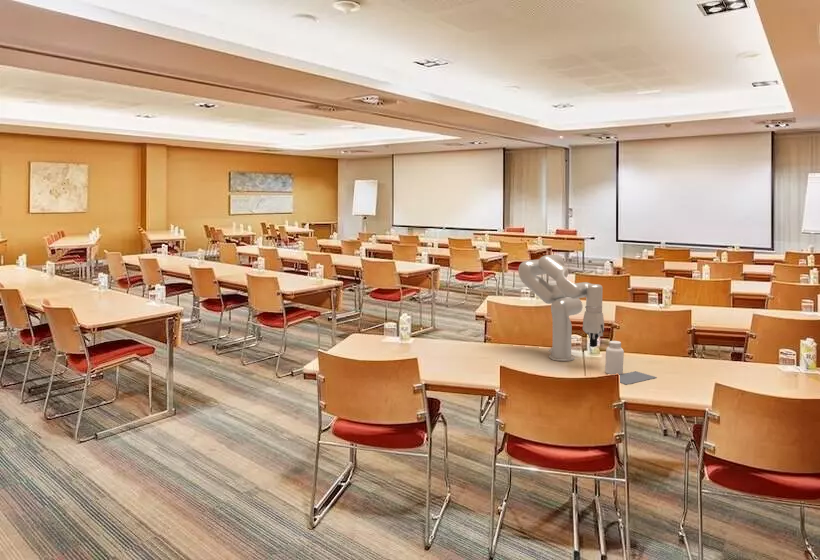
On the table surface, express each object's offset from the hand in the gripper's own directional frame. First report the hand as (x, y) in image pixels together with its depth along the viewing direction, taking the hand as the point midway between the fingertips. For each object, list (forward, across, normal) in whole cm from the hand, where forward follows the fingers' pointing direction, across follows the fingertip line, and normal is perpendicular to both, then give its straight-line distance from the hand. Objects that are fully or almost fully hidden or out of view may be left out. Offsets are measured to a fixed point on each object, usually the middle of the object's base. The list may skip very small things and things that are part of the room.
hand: (593, 346), depth 288 cm
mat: (+10, +23, 0) cm, 25 cm away
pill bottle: (+10, +13, 0) cm, 17 cm away
